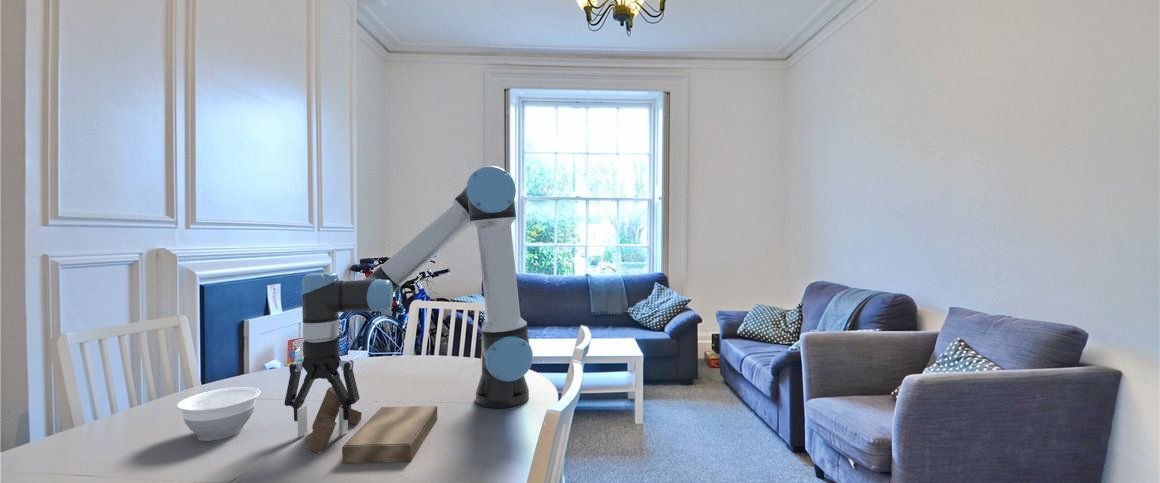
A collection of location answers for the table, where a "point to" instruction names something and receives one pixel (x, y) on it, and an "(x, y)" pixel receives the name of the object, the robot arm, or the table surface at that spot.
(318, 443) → the wooden block set
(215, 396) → the bowl
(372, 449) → the plinth
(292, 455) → the table surface
